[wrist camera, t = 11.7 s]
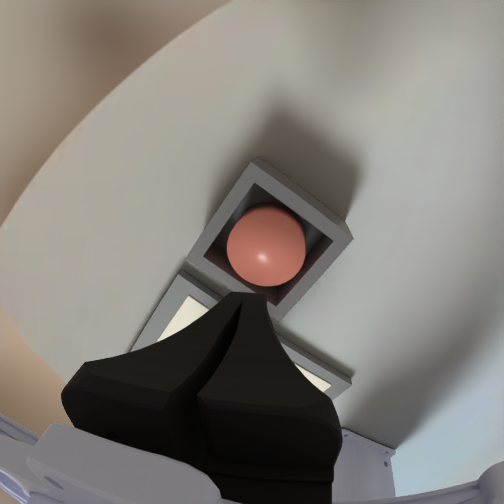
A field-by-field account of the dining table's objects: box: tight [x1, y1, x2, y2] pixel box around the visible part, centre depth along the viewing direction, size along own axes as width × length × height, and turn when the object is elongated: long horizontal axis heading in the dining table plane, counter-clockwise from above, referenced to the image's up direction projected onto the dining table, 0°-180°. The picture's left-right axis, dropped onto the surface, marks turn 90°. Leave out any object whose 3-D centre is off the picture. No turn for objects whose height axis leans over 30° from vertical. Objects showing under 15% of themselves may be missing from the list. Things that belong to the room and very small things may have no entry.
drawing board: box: [130, 270, 352, 400], centre depth 26 cm, size 17×13×1 cm
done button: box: [227, 202, 306, 286], centre depth 19 cm, size 4×4×2 cm
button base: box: [185, 157, 354, 322], centre depth 20 cm, size 7×7×4 cm
